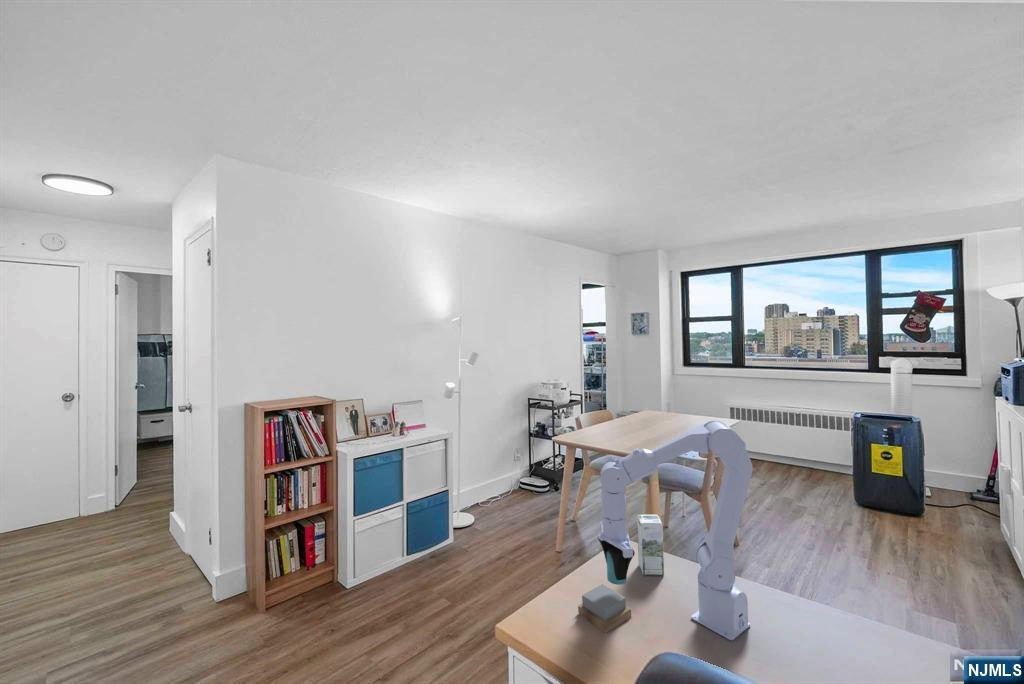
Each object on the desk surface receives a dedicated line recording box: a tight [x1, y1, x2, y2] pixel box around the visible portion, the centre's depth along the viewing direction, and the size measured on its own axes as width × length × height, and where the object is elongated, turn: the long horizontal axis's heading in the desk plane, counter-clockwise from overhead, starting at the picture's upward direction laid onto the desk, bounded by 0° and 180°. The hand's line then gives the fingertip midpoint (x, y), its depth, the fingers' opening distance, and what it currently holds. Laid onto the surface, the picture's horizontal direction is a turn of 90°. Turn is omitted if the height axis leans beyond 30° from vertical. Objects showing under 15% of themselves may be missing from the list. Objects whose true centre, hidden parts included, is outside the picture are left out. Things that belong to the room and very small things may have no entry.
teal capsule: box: [606, 551, 628, 586], centre depth 101 cm, size 4×4×6 cm
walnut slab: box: [577, 603, 632, 634], centre depth 100 cm, size 8×8×2 cm
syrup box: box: [636, 514, 665, 576], centre depth 118 cm, size 6×6×14 cm
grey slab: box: [581, 584, 627, 621], centre depth 100 cm, size 7×7×2 cm
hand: (616, 573), depth 101 cm, fingers closed on teal capsule, 4 cm apart
